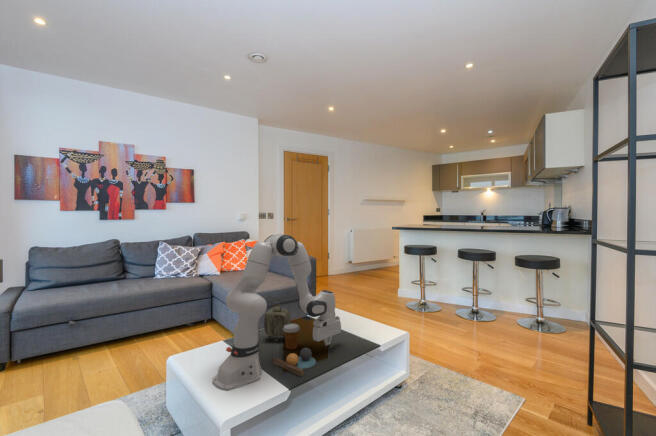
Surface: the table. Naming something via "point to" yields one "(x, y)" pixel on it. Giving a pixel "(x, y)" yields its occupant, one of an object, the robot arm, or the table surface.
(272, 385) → the table surface
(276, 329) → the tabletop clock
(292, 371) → the stopper wall
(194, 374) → the table surface
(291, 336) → the disposable coffee cup
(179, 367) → the table surface
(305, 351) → the dark gray ball
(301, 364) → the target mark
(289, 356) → the orange ball
